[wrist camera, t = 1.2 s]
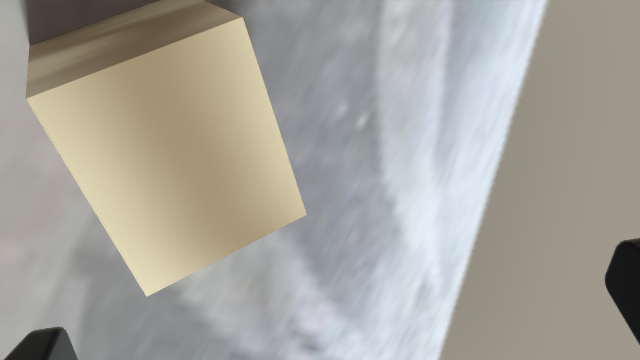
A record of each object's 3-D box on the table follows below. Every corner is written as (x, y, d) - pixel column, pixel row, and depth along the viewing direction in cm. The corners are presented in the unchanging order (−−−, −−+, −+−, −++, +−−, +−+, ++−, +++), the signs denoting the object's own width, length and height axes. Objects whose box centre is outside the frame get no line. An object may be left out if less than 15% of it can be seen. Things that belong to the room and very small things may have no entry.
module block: (118, 201, 19) (146, 296, 14) (29, 45, 15) (26, 98, 11) (241, 145, 20) (306, 214, 15) (183, -9, 17) (242, 16, 12)
